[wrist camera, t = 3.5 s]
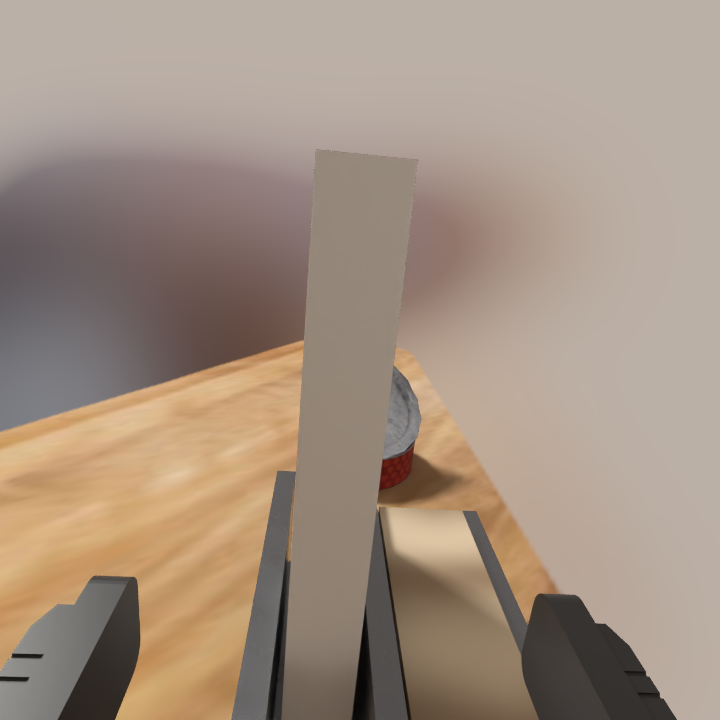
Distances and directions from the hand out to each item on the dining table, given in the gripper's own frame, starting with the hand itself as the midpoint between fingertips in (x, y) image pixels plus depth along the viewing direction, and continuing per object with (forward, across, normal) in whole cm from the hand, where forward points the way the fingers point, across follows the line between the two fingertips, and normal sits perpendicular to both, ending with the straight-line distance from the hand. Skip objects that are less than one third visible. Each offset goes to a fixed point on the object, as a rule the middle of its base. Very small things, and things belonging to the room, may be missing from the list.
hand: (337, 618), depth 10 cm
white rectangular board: (+10, 0, +13) cm, 16 cm away
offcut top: (+10, -5, +10) cm, 15 cm away
